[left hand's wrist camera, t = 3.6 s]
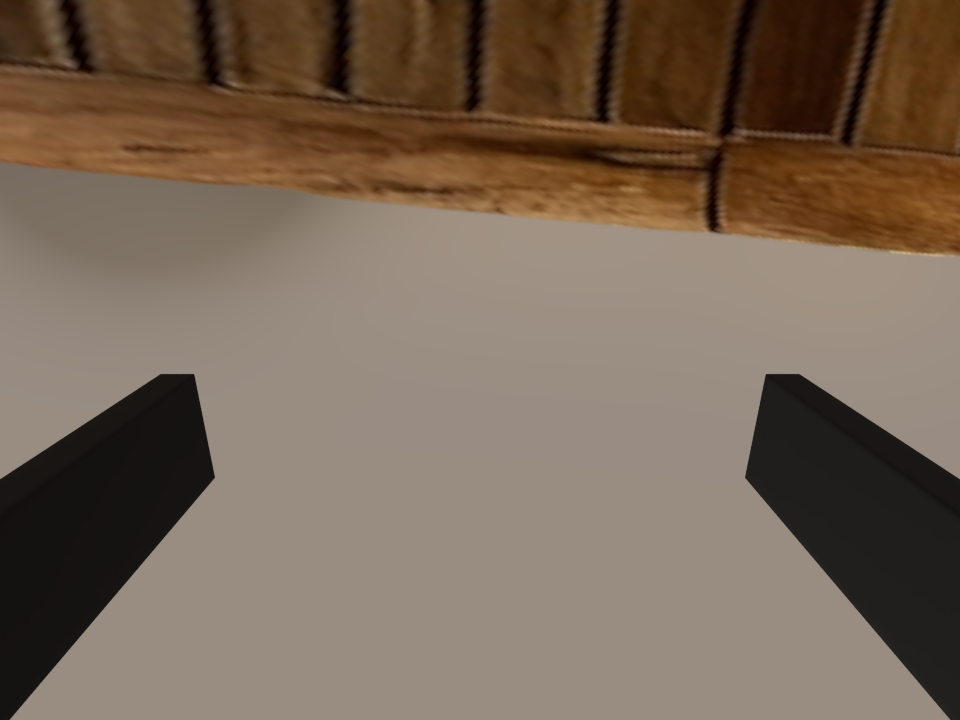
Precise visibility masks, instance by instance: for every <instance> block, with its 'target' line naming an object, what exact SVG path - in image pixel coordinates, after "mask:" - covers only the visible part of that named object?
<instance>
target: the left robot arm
mask: <svg viewBox="0 0 960 720" xmlns="http://www.w3.org/2000/svg"><path fill="white" fill-rule="evenodd" d="M214 478H215V475H214V471H213V466H212V461H211V456H210V451H209V446H208V441H207V436H206V431H205V426H204V421H203V416H202V411H201V406H200V401H199V396H198V391H197V386H196V381H195V376H194V374H160V375H159V376H157V377H156V378H154V379H153V380H151V381H150V382H148V383H147V384H145V385H143V386H142V387H140V388H139V389H137V390H136V391H134V392H133V393H131V394H130V395H128V396H127V397H125V398H124V399H122V400H121V401H119V402H118V403H116V404H114V405H113V406H111V407H110V408H108V409H107V410H105V411H104V412H102V413H101V414H99V415H98V416H96V417H95V418H93V419H92V420H90V421H88V422H87V423H85V424H84V425H82V426H81V427H79V428H78V429H76V430H75V431H73V432H72V433H70V434H69V435H67V436H66V437H64V438H63V439H61V440H59V441H58V442H56V443H55V444H53V445H52V446H50V447H49V448H47V449H46V450H44V451H43V452H41V453H40V454H38V455H37V456H35V457H34V458H32V459H30V460H29V461H27V462H26V463H24V464H23V465H21V466H20V467H18V468H17V469H15V470H14V471H12V472H11V473H9V474H8V475H6V476H5V477H3V478H1V479H0V720H10V719H11V717H12V716H13V715H14V714H15V713H16V712H17V710H18V709H19V708H20V707H21V706H22V705H23V703H24V702H25V701H26V700H27V699H28V697H29V696H30V695H31V694H32V693H33V691H34V690H35V689H36V688H37V687H38V686H39V684H40V683H41V682H42V681H43V680H44V678H45V677H46V676H47V675H48V674H49V673H50V671H51V670H52V669H53V668H54V667H55V666H56V664H57V663H58V662H59V661H60V660H61V659H62V657H63V656H64V655H65V654H66V653H67V651H68V650H69V649H70V648H71V647H72V646H73V644H74V643H75V642H76V641H77V640H78V638H79V637H80V636H81V635H82V634H83V633H84V631H85V630H86V629H87V628H88V627H89V625H90V624H91V623H92V622H93V621H94V620H95V618H96V617H97V616H98V615H99V614H100V613H101V611H102V610H103V609H104V608H105V607H106V605H107V604H108V603H109V602H110V601H111V600H112V598H113V597H114V596H115V595H116V594H117V592H118V591H119V590H120V589H121V588H122V587H123V585H124V584H125V583H126V582H127V581H128V580H129V578H130V577H131V576H132V575H133V574H134V572H135V571H136V570H137V569H138V568H139V567H140V565H141V564H142V563H143V562H144V561H145V559H146V558H147V557H148V556H149V555H150V554H151V552H152V551H153V550H154V549H155V548H156V547H157V545H158V544H159V543H160V542H161V541H162V539H163V538H164V537H165V536H166V535H167V533H168V532H169V531H170V530H171V529H172V528H173V526H174V525H175V524H176V523H177V522H178V520H179V519H180V518H181V517H182V516H183V515H184V513H185V512H186V511H187V510H188V509H189V508H190V506H191V505H192V504H193V503H194V502H195V500H196V499H197V498H198V497H199V496H200V495H201V493H202V492H203V491H204V490H205V489H206V488H207V486H208V485H209V484H210V483H211V482H212V480H213V479H214ZM745 478H746V479H747V480H748V482H749V483H750V484H751V485H752V486H753V488H754V489H755V490H756V491H757V492H758V493H759V495H760V496H761V497H762V498H763V499H764V501H765V502H766V503H767V504H768V505H769V506H770V508H771V509H772V510H773V511H774V512H775V513H776V515H777V516H778V517H779V518H780V519H781V521H782V522H783V523H784V524H785V525H786V526H787V528H788V529H789V530H790V531H791V532H792V534H793V535H794V536H795V537H796V538H797V539H798V541H799V542H800V543H801V544H802V545H803V546H804V548H805V549H806V550H807V551H808V552H809V554H810V555H811V556H812V557H813V558H814V559H815V561H816V562H817V563H818V564H819V565H820V567H821V568H822V569H823V570H824V571H825V572H826V574H827V575H828V576H829V577H830V578H831V579H832V581H833V582H834V583H835V584H836V585H837V587H838V588H839V589H840V590H841V591H842V592H843V594H844V595H845V596H846V597H847V598H848V600H849V601H850V602H851V603H852V604H853V605H854V607H855V608H856V609H857V610H858V611H859V613H860V614H861V615H862V616H863V617H864V618H865V620H866V621H867V622H868V623H869V624H870V626H871V627H872V628H873V629H874V630H875V631H876V632H877V634H878V635H879V636H880V637H881V638H882V640H883V641H884V642H885V643H886V644H887V646H888V647H889V648H890V649H891V650H892V651H893V653H894V654H895V655H896V656H897V657H898V659H899V660H900V661H901V662H902V663H903V664H904V666H905V667H906V668H907V669H908V670H909V671H910V673H911V674H912V675H913V676H914V677H915V679H916V680H917V681H918V682H919V683H920V684H921V686H922V687H923V688H924V689H925V690H926V692H927V693H928V694H929V695H930V696H931V697H932V699H933V700H934V701H935V702H936V703H937V705H938V706H939V707H940V708H941V709H942V710H943V712H944V713H945V714H946V715H947V716H948V717H949V719H950V720H960V479H959V478H957V477H955V476H954V475H952V474H951V473H949V472H948V471H946V470H945V469H943V468H942V467H940V466H939V465H937V464H936V463H934V462H933V461H931V460H930V459H928V458H927V457H925V456H923V455H922V454H920V453H919V452H917V451H916V450H914V449H913V448H911V447H910V446H908V445H907V444H905V443H904V442H902V441H901V440H899V439H897V438H896V437H894V436H893V435H891V434H890V433H888V432H887V431H885V430H884V429H882V428H881V427H879V426H878V425H876V424H875V423H873V422H872V421H870V420H868V419H867V418H865V417H864V416H862V415H861V414H859V413H858V412H856V411H855V410H853V409H852V408H850V407H849V406H847V405H846V404H844V403H842V402H841V401H839V400H838V399H836V398H835V397H833V396H832V395H830V394H829V393H827V392H826V391H824V390H823V389H821V388H820V387H818V386H817V385H815V384H814V383H812V382H810V381H809V380H807V379H806V378H804V377H803V376H801V375H800V374H766V376H765V381H764V386H763V391H762V396H761V401H760V406H759V411H758V416H757V421H756V426H755V431H754V436H753V441H752V446H751V451H750V456H749V461H748V466H747V471H746V475H745Z"/></svg>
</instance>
